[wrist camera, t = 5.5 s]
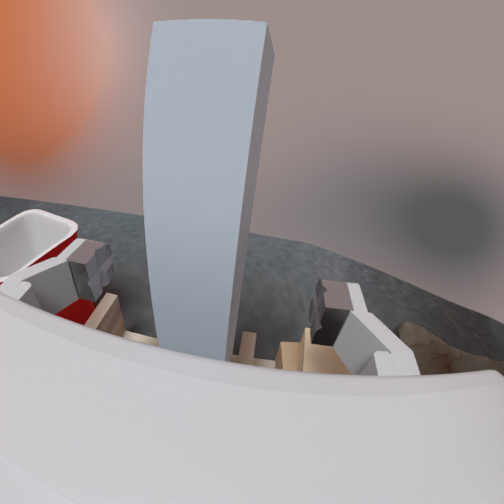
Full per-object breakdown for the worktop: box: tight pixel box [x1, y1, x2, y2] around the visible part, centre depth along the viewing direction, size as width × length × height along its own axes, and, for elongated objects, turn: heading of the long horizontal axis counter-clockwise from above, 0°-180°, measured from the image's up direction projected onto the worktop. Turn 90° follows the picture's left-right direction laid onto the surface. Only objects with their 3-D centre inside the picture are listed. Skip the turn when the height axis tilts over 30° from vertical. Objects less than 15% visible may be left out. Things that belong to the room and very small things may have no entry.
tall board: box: [143, 19, 274, 362], centre depth 12 cm, size 2×6×20 cm, turn 174°
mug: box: [0, 209, 95, 325], centre depth 18 cm, size 12×8×11 cm
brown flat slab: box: [393, 321, 504, 376], centre depth 17 cm, size 17×15×4 cm
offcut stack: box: [275, 328, 352, 375], centre depth 16 cm, size 7×8×6 cm
